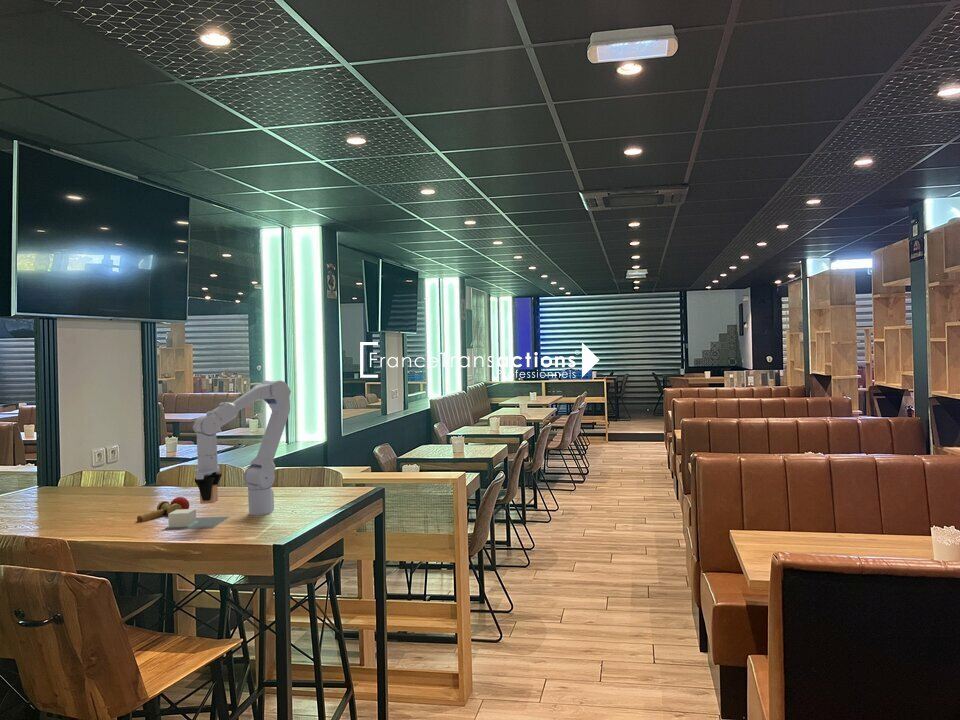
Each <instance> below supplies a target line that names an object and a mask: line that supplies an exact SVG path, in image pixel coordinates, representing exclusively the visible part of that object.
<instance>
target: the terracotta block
mask: <svg viewBox="0 0 960 720" xmlns="http://www.w3.org/2000/svg"><path fill="white" fill-rule="evenodd" d="M218 491H219V489H218V487H217V485H212V490H211V499H210V500H209V501H203V500H202V497H201V493H200V492H199V503H200V504H201V505H203V504H205V505H206V504H214V503H216V502H218V501H219V495H218V494H219V493H218Z"/></svg>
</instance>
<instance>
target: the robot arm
mask: <svg viewBox="0 0 960 720" xmlns="http://www.w3.org/2000/svg"><path fill="white" fill-rule="evenodd" d="M291 392H292V391H291V389H290V387H289V385H288V384H287V383H286V382H285V381H284V380H264V381H261V382H260V383H258V384H256V385H254V387H252V388H251V389H249V390H248V391H247V392H245V393H244V394H242V395H241V396H240V397H237V398H236V399H235V400H234V401H232V402H229V401H225V402H224V401H223V402H220V403H219V404H218V406H217V407H216V408H214V409H212V410H211V411H210V410H209V411H206V413H205V414H206V415H200V416H198V417H197V418H196V419H195V421H194V422H193V425H192V430H193V431H194V433H195V434H196V452H197V454H196V455H197V469H194V470H193V471H194V473H195V478H194V479H193V480H194V482H195V485H197V487H198V490H199V494H200V493H201V497H202V500H203V501H209V500H210V499H211V490H212V485H217V488H218V486H219V482H220V480H221V478H222V475H223V474H222V472H220V471H221V470H220V465H218V442H217V441H218V439H217V433H218V432H219V431H220V428H222V427H223V426H224V425H226V424H227V423H229V422H231V421H233V420H234V419H236V418H237V416H238V415H239V414H238V413H239V411H242V409H244V408H247V407H248V406H249V405H251V404H253V403H255V402H257V401H258V400H263V401H264V402H265V403H266V404H267V405H268V406H269V408H270V410H271V412H270V413H271V414H270V417H269V420H268V423H267V425H266V428H265V431H264V434H263V437H262V439H261V442H260V446H259V448H258V452H257V455H256V456H255V457H254V458H253V459H252V460H251V461H250V462H249V466H248V467H247V468H246V469H245V470H244V473H243V480H244V482H245V484H247V495H248V497H247V498H248V499H247V500H248V515H249V516H263V515H269V514H271V513H273V511H274V510H275V499H274V497H275V496H274V495H275V494H274V490H273V489H272V485H273V483H274V482H275V478H276V475H275V472H276V464H275V462H274V459H275V456H276V453H277V450H278V447H279V444H280V441H281V439H282V435H283V432H284V429H285V427H286V425H287V424H286V423H287V420H288V418H289V415H290V411H291V402H290V395H291Z"/></svg>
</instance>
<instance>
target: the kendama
mask: <svg viewBox="0 0 960 720" xmlns="http://www.w3.org/2000/svg"><path fill="white" fill-rule="evenodd" d="M182 509H190V502H189V500H188V499H187V498H186V497H183V496H177V497H175V498H173V499H172V500H171V502H169V501H167V500H161V501H160V502H158V504H157V507H156V510H154V511H151V512H147V513H144V514H140V515H138V516H137V517H136V522H142V523H144V522H147V521H151V520H154V519H157V518H158V517H160V516H162V515H167V516H168V514H169V513H171V512H173V511H175V510H182Z"/></svg>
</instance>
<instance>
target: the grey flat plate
mask: <svg viewBox="0 0 960 720" xmlns="http://www.w3.org/2000/svg"><path fill="white" fill-rule="evenodd" d="M229 518H230V516H211V517H210V516H209V517H208V516H207V517H196V522H195V523H193V524H192V525H190V526H184V527H169V525H168V526H166V527H165V528H162V530H161V531H184V530H185V531H187V530H207V529H208V530H209V529H210V530H211V529H215V527H217V526H218V525H220V524H222V523H223V522H224V521H226V520H227V519H229Z"/></svg>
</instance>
